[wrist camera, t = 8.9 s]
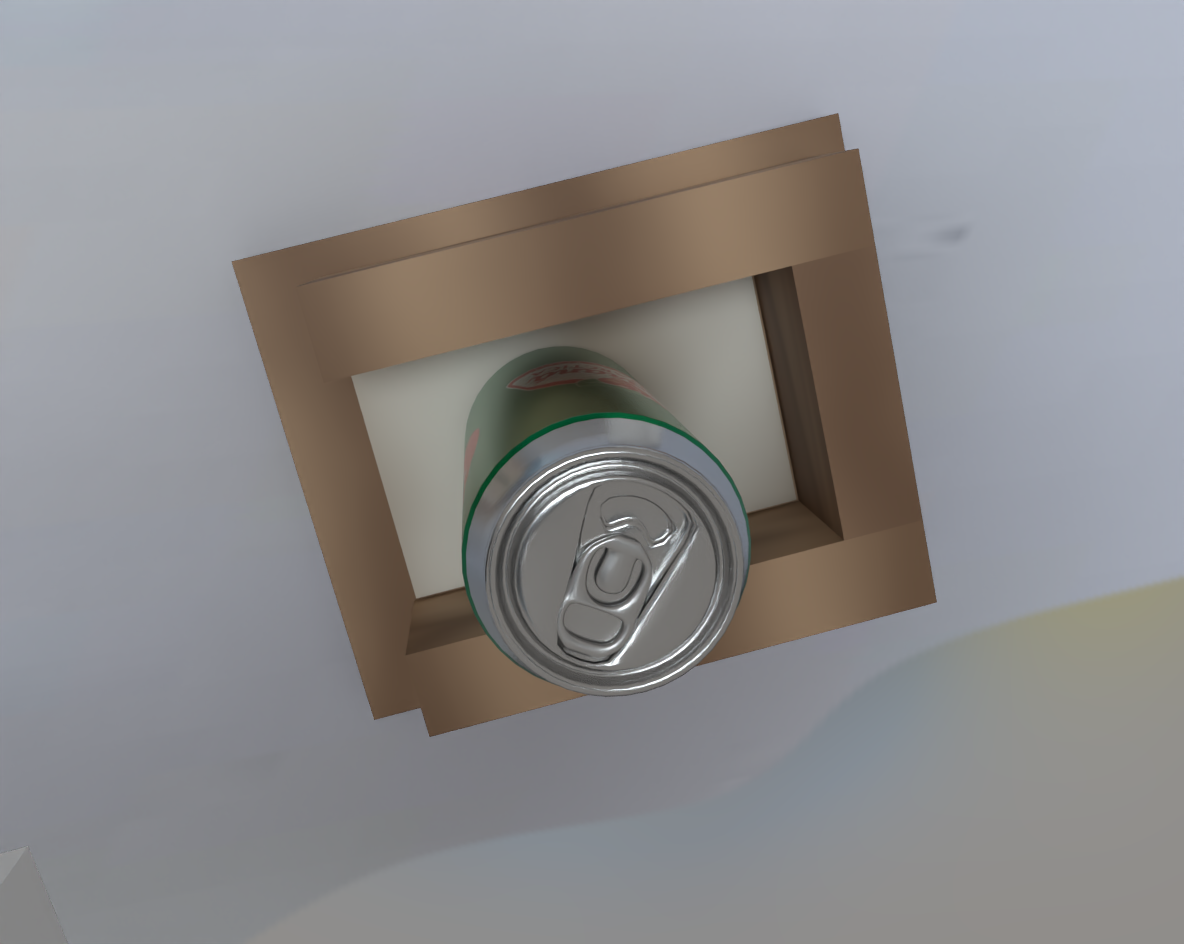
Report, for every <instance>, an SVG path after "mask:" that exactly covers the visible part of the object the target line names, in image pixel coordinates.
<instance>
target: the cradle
mask: <svg viewBox="0 0 1184 944" xmlns="http://www.w3.org/2000/svg"><path fill="white" fill-rule="evenodd" d="M232 264H233V267H234V271H235V274H236V277H237V280H238V284H239V287H240V290H241V293H242V296H243V300H244V303H245V306H246V309H247V312H248V316H249V319H250V322H251V325H252V328H253V332H254V335H255V338H256V341H257V345H258V348H259V351H260V354H261V357H262V361H263V364H264V367H265V370H266V373H267V377H268V380H269V383H270V386H271V390H272V393H273V396H274V399H275V402H276V406H277V409H278V412H279V415H280V418H281V422H282V425H283V428H284V431H285V434H286V438H287V441H288V444H289V447H290V451H291V454H292V457H293V460H294V463H295V467H296V470H297V473H298V476H299V479H300V483H301V486H302V489H303V492H304V496H305V499H306V502H307V505H308V508H309V512H310V515H311V518H312V521H313V524H314V528H315V531H316V534H317V537H318V540H319V544H320V547H321V550H322V553H323V557H324V560H325V563H326V566H327V569H328V573H329V576H330V579H331V582H332V585H333V589H334V592H335V595H336V598H337V601H338V605H339V608H340V611H341V614H342V618H343V621H344V624H345V627H346V630H347V634H348V637H349V640H350V643H351V646H352V650H353V653H354V656H355V659H356V663H357V666H358V669H359V672H360V675H361V679H362V682H363V685H364V688H365V691H366V695H367V698H368V701H369V704H370V707H371V711H372V714H373V717H374V720H375V719H379V718H383V717H387V716H391V715H394V714H398V713H402V712H406V711H410V710H413V709H417V708H421V710H422V713H423V716H424V720H425V723H426V726H427V730H428V733H429V736H430V737H431V736H435V735H439V734H443V733H446V732H450V731H454V730H458V729H462V728H465V727H469V726H473V725H477V724H480V723H484V722H488V721H492V720H495V719H499V718H503V717H507V716H510V715H514V714H518V713H522V712H526V711H529V710H533V709H537V708H541V707H544V706H548V705H552V704H556V703H559V702H563V701H567V700H571V699H574V698H578V697H582V696H586V694H582V693H578V692H574V691H570V690H567V689H564V688H562V687H560V686H557V685H554V684H551V683H549V682H547V681H544V680H542V679H540V678H537V677H535V676H533V675H532V674H530V673H528V672H527V671H525V670H524V669H522V668H520V667H519V666H517V665H516V664H514V663H513V662H512V661H511V660H510V659H509V658H508V657H506V656H505V655H504V654H503V653H502V652H501V651H500V650H499V649H498V648H497V647H496V646H495V644H494V643H493V642H492V641H491V640H490V638H489V637H488V636H487V635H486V634H485V632H484V630H483V629H482V627H481V625H480V623H479V622H478V620H477V618H476V617H475V615H474V612H473V610H472V607H471V604H470V602H469V599H468V597H467V594H466V589H465V584H464V579H463V574H462V553H461V547H462V513H463V479H464V445H465V432H466V424H467V420H468V417H469V413H470V410H471V407H472V405H473V403H474V401H475V399H476V397H477V395H478V393H479V392H480V390H481V389H482V388H483V386H484V385H485V383H486V382H487V381H488V380H489V379H490V378H491V377H492V376H493V375H494V374H495V373H496V371H498V370H499V369H500V368H502V367H503V366H504V365H506V364H507V363H508V362H510V361H511V360H513V359H515V358H517V357H519V356H521V355H523V354H525V353H528V352H531V351H534V350H537V349H542V348H548V347H557V346H570V347H577V348H584V349H587V350H590V351H593V352H597V353H599V354H601V355H603V356H605V357H607V358H609V359H611V360H613V361H614V362H616V363H617V364H619V365H620V366H621V367H623V368H624V369H625V370H626V371H627V372H628V373H629V374H630V375H631V376H632V377H634V378H635V379H636V380H637V381H638V382H639V383H640V384H641V385H642V386H643V387H644V388H645V389H646V390H647V391H648V392H649V393H650V394H651V395H652V396H653V397H654V398H655V399H656V400H657V401H658V402H660V403H661V404H662V405H663V406H664V407H665V408H666V409H667V410H668V411H669V412H670V413H671V414H672V415H673V416H674V417H675V418H676V419H677V420H678V421H679V422H680V423H681V424H682V425H683V426H684V427H685V428H687V429H688V430H689V431H690V432H691V433H692V434H693V435H694V436H695V437H696V438H697V439H698V440H699V441H700V442H701V443H702V444H703V445H704V446H705V447H706V448H707V449H708V450H709V451H710V452H711V453H712V454H713V455H714V456H715V457H716V458H717V459H718V460H719V461H720V462H721V464H722V465H723V466H724V468H725V469H726V470H727V472H728V473H729V475H730V476H731V477H732V479H733V481H734V483H735V485H736V487H737V489H738V491H739V493H740V495H741V497H742V500H743V503H744V507H745V510H746V513H747V516H748V521H749V528H750V536H751V562H750V567H749V573H748V578H747V583H746V586H745V589H744V592H743V595H742V597H741V600H740V603H739V605H738V607H737V609H736V611H735V614H734V616H733V619H732V620H731V622H730V624H729V626H728V628H727V630H726V632H725V633H724V635H723V636H722V638H721V639H720V640H719V642H718V643H717V644H716V646H715V647H714V648H713V650H712V651H711V652H710V653H709V654H708V655H707V656H706V657H705V658H704V659H703V660H702V661H701V662H700V663H699V664H698V665H696V666H699V665H702V664H706V663H710V662H714V661H718V660H721V659H725V658H729V657H733V656H736V655H740V654H744V653H748V652H751V651H755V650H759V649H763V648H766V647H770V646H774V645H778V644H782V643H785V642H789V641H793V640H797V639H800V638H804V637H808V636H812V635H815V634H819V633H823V632H827V631H830V630H834V629H838V628H842V627H846V626H849V625H853V624H857V623H861V622H864V621H868V620H872V619H876V618H879V617H883V616H887V615H891V614H894V613H898V612H902V611H906V610H910V609H913V608H917V607H921V606H925V605H928V604H932V603H936V602H937V601H936V595H935V589H934V584H933V578H932V572H931V566H930V560H929V555H928V549H927V543H926V537H925V531H924V526H923V520H922V514H921V508H920V502H919V497H918V491H917V485H916V479H915V473H914V468H913V462H912V456H911V450H910V445H909V439H908V433H907V427H906V421H905V416H904V410H903V404H902V398H901V392H900V387H899V381H898V375H897V369H896V363H895V358H894V352H893V346H892V340H891V335H890V329H889V323H888V317H887V311H886V306H885V300H884V294H883V288H882V282H881V277H880V271H879V265H878V259H877V253H876V248H875V242H874V236H873V230H872V225H871V219H870V213H869V207H868V201H867V196H866V190H865V184H864V178H863V172H862V167H861V161H860V155H859V149H853V150H847V151H845V149H844V143H843V138H842V132H841V126H840V121H839V115H838V113H837V114H833V115H829V116H825V117H821V118H817V119H813V120H809V121H805V122H801V123H796V124H792V125H788V126H784V127H780V128H776V129H772V130H768V131H764V132H760V133H756V134H752V135H747V136H743V137H739V138H735V139H731V140H727V141H723V142H719V143H715V144H711V145H707V146H702V147H698V148H694V149H690V150H686V151H682V152H678V153H674V154H670V155H666V156H662V157H657V158H653V159H649V160H645V161H641V162H637V163H633V164H629V165H625V166H621V167H617V168H612V169H608V170H604V171H600V172H596V173H592V174H588V175H584V176H580V177H576V178H572V179H567V180H563V181H559V182H555V183H551V184H547V185H543V186H539V187H535V188H531V189H527V190H523V191H518V192H514V193H510V194H506V195H502V196H498V197H494V198H490V199H486V200H482V201H478V202H473V203H469V204H465V205H461V206H457V207H453V208H449V209H445V210H441V211H437V212H433V213H428V214H424V215H420V216H416V217H412V218H408V219H404V220H400V221H396V222H392V223H388V224H383V225H379V226H375V227H371V228H367V229H363V230H359V231H355V232H351V233H347V234H343V235H338V236H334V237H330V238H326V239H322V240H318V241H314V242H310V243H306V244H302V245H298V246H294V247H289V248H285V249H281V250H277V251H273V252H269V253H265V254H261V255H257V256H253V257H249V258H244V259H240V260H236V261H232Z"/></svg>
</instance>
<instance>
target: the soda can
mask: <svg viewBox="0 0 1184 944" xmlns="http://www.w3.org/2000/svg"><path fill="white" fill-rule="evenodd" d="M461 553H462V574H463V579H464V584H465V589H466V594H467V597H468V599H469V602H470V604H471V607H472V610H473V612H474V615H475V617H476V618H477V620H478V622H479V623H480V625H481V627H482V629H483V630H484V632H485V634H486V635H487V636H488V637H489V638H490V640H491V641H492V642H493V643H494V644H495V646H496V647H497V648H498V649H499V650H500V651H501V652H502V653H503V654H504V655H505V656H506V657H508V658H509V659H510V660H511V661H512V662H513V663H514V664H516V665H517V666H519V667H520V668H522V669H524V670H525V671H527V672H528V673H530V674H532V675H533V676H535V677H537V678H540V679H542V680H544V681H547V682H549V683H551V684H554V685H557V686H560V687H562V688H564V689H567V690H570V691H574V692H578V693H582V694H586V695H594V696H604V697H610V696H627V695H632V694H637V693H642V692H647V691H649V690H652V689H655V688H658V687H661V686H663V685H666V684H668V683H669V682H671V681H673V680H675V679H677V678H679V677H681V676H682V675H684V674H685V673H687V672H688V671H689V670H691V669H692V668H693V667H695V666H696V665H698V664H699V663H700V662H701V661H702V660H703V659H704V658H705V657H706V656H707V655H708V654H709V653H710V652H711V651H712V650H713V648H714V647H715V646H716V644H717V643H718V642H719V640H720V639H721V638H722V636H723V635H724V633H725V632H726V630H727V628H728V626H729V624H730V622H731V620H732V619H733V616H734V614H735V611H736V609H737V607H738V605H739V603H740V600H741V597H742V595H743V592H744V589H745V586H746V583H747V578H748V573H749V567H750V562H751V536H750V528H749V521H748V516H747V513H746V510H745V507H744V503H743V500H742V497H741V495H740V493H739V491H738V489H737V487H736V485H735V483H734V481H733V479H732V477H731V476H730V475H729V473H728V472H727V470H726V469H725V468H724V466H723V465H722V464H721V462H720V461H719V460H718V459H717V458H716V457H715V456H714V455H713V454H712V453H711V452H710V451H709V450H708V449H707V448H706V447H705V446H704V445H703V444H702V443H701V442H700V441H699V440H698V439H697V438H696V437H695V436H694V435H693V434H692V433H691V432H690V431H689V430H688V429H687V428H685V427H684V426H683V425H682V424H681V423H680V422H679V421H678V420H677V419H676V418H675V417H674V416H673V415H672V414H671V413H670V412H669V411H668V410H667V409H666V408H665V407H664V406H663V405H662V404H661V403H660V402H658V401H657V400H656V399H655V398H654V397H653V396H652V395H651V394H650V393H649V392H648V391H647V390H646V389H645V388H644V387H643V386H642V385H641V384H640V383H639V382H638V381H637V380H636V379H635V378H634V377H632V376H631V375H630V374H629V373H628V372H627V371H626V370H625V369H624V368H623V367H621V366H620V365H619V364H617V363H616V362H614V361H613V360H611V359H609V358H607V357H605V356H603V355H601V354H599V353H597V352H593V351H590V350H587V349H584V348H577V347H570V346H557V347H548V348H542V349H537V350H534V351H531V352H528V353H525V354H523V355H521V356H519V357H517V358H515V359H513V360H511V361H510V362H508V363H507V364H506V365H504V366H503V367H502V368H500V369H499V370H498V371H496V373H495V374H494V375H493V376H492V377H491V378H490V379H489V380H488V381H487V382H486V383H485V385H484V386H483V388H482V389H481V390H480V392H479V393H478V395H477V397H476V399H475V401H474V403H473V405H472V407H471V410H470V413H469V417H468V420H467V424H466V432H465V445H464V479H463V513H462V547H461Z"/></svg>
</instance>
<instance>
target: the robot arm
mask: <svg viewBox="0 0 1184 944" xmlns="http://www.w3.org/2000/svg"><path fill="white" fill-rule="evenodd" d="M0 944H68V943H67V940H66V938H65V935H64V933H63V930H62V928H61V925H60V923H59V921H58V918H57V916H56V913H55V911H54V908H53V906H52V903H51V901H50V898H49V896H48V894H47V891H46V889H45V886H44V884H43V881H42V879H41V876H40V874H39V871H38V869H37V866H36V864H35V862H34V859H33V857H32V854H31V852H30V849H29V847H28V846H26V847H23V848H19V849H15V850H11V851H8V852H4V853H0Z"/></svg>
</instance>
